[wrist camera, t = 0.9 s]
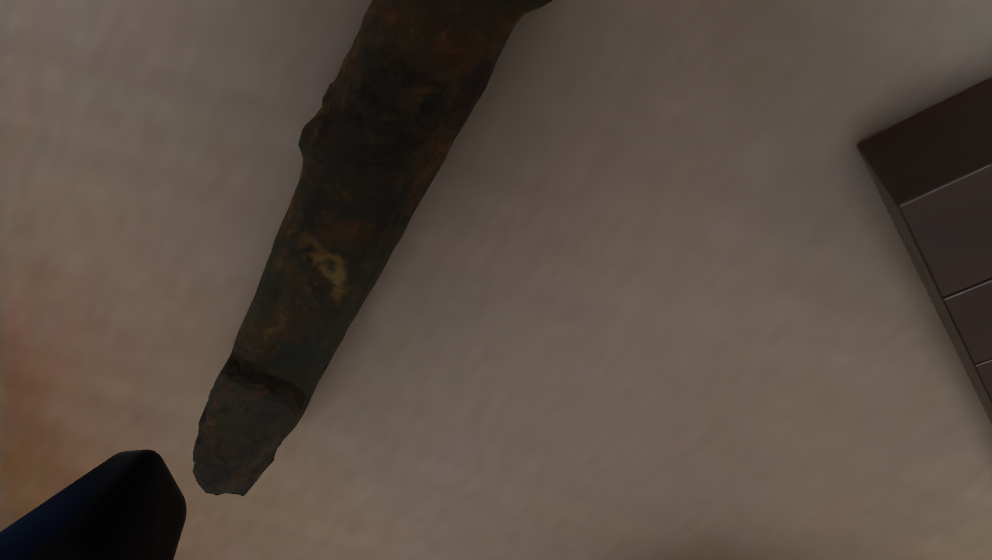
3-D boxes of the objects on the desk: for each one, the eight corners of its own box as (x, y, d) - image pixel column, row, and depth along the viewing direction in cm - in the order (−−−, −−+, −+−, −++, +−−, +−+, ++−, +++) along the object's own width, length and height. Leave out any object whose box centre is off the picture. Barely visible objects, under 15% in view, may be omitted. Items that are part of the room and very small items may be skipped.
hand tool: (425, -141, 18) (370, -120, 14) (574, -43, 19) (561, 3, 15) (182, 384, 28) (110, 482, 24) (285, 436, 28) (231, 540, 24)
